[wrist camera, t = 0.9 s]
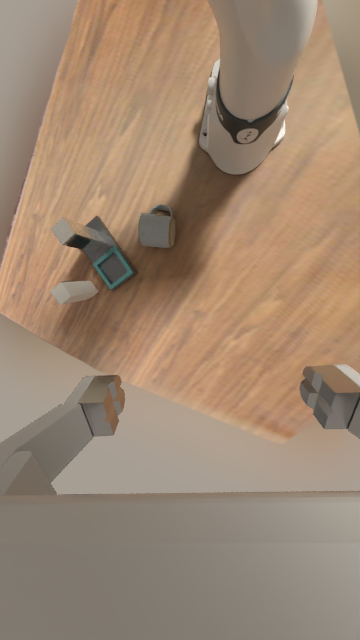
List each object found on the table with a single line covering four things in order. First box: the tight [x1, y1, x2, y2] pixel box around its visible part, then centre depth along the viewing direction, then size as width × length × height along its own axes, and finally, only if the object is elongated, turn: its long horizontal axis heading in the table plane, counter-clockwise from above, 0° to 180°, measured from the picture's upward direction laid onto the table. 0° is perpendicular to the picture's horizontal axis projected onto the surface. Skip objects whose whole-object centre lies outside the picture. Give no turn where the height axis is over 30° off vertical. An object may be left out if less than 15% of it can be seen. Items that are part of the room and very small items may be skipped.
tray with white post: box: [51, 216, 137, 291], centre depth 48 cm, size 18×9×14 cm, turn 34°
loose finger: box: [50, 281, 99, 305], centre depth 52 cm, size 4×4×12 cm
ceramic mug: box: [139, 204, 176, 248], centre depth 47 cm, size 11×8×8 cm
